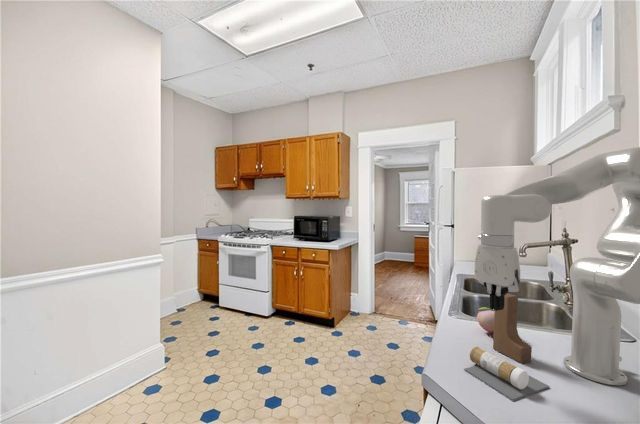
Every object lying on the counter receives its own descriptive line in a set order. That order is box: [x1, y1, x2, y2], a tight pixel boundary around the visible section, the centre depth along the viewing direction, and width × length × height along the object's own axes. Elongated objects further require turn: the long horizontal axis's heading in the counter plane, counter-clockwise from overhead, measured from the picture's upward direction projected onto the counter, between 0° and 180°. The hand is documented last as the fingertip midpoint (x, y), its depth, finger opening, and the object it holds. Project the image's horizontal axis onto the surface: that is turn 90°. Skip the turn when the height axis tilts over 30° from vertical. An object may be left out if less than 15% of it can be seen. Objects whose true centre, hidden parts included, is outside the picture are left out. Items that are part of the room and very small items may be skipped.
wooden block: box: [492, 292, 533, 364], centre depth 85 cm, size 9×4×18 cm, turn 20°
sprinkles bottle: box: [469, 346, 530, 390], centre depth 74 cm, size 5×5×13 cm
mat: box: [463, 364, 550, 402], centre depth 73 cm, size 14×13×1 cm
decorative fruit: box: [476, 306, 495, 335], centre depth 100 cm, size 9×8×10 cm
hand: (496, 308), depth 75 cm, fingers closed
